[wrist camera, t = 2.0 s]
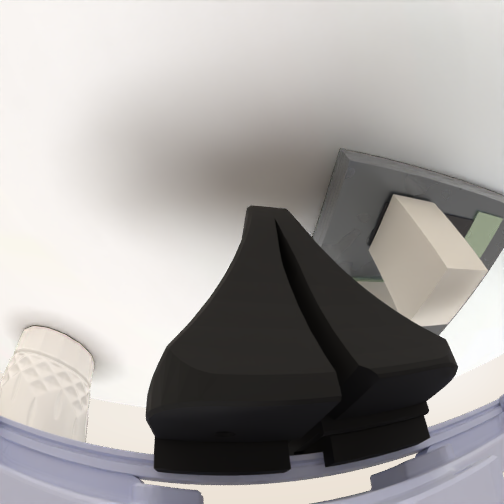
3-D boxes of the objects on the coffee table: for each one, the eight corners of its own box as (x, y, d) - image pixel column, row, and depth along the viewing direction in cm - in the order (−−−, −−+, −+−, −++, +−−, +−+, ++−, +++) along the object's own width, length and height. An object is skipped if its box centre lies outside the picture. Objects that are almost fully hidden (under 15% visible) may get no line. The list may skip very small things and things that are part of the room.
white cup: (87, 380, 24) (72, 477, 16) (14, 345, 20) (-13, 442, 12) (114, 352, 20) (95, 479, 13) (21, 305, 16) (-22, 432, 9)
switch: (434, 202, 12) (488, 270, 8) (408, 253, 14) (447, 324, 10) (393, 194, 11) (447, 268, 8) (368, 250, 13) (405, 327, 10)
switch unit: (513, 199, 13) (525, 212, 12) (414, 345, 23) (419, 357, 22) (340, 148, 11) (351, 161, 10) (270, 353, 21) (272, 369, 20)
